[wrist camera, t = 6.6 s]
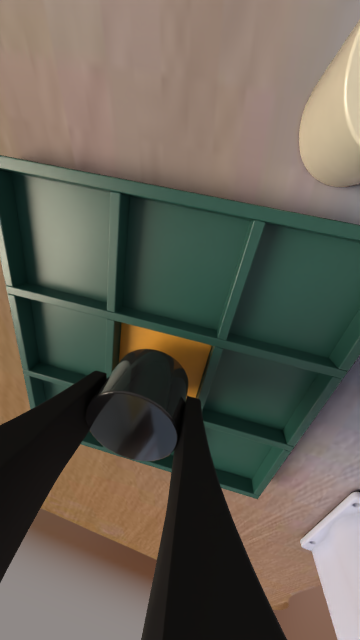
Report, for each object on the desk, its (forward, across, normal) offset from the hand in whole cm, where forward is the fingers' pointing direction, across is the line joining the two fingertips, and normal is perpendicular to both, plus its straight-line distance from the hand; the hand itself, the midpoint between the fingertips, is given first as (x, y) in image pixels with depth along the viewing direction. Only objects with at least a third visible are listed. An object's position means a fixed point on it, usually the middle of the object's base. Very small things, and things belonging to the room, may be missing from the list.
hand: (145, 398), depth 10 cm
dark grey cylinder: (+1, 0, 0) cm, 1 cm away
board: (+3, 0, 0) cm, 3 cm away
